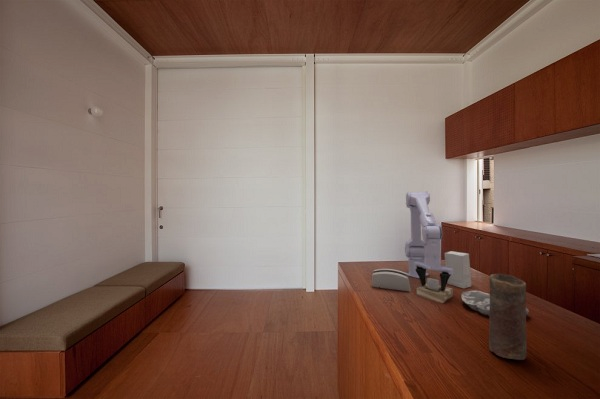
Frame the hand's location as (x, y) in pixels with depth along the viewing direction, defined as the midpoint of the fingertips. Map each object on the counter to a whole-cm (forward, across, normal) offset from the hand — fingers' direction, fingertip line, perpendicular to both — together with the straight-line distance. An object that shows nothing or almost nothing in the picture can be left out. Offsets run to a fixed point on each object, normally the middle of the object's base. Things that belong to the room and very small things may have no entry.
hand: (433, 287), depth 100 cm
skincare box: (+4, +2, +21) cm, 22 cm away
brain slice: (+4, +18, +3) cm, 19 cm away
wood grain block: (+3, 0, +1) cm, 3 cm away
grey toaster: (+4, -17, -4) cm, 18 cm away
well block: (+4, 0, +1) cm, 4 cm away
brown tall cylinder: (+4, +28, -24) cm, 37 cm away
